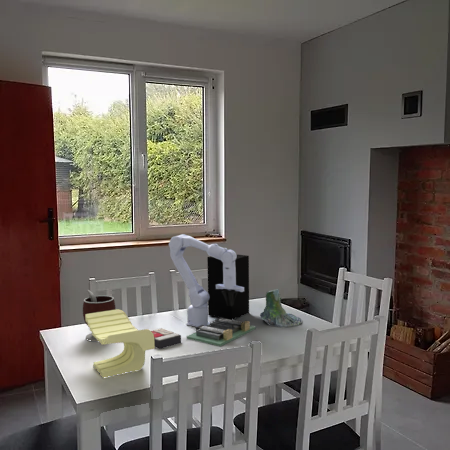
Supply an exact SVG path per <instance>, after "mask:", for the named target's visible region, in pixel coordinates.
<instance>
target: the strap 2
mask: <svg viewBox="0 0 450 450" xmlns="http://www.w3.org/2000/svg"><path fill="white" fill-rule="evenodd" d="M218 321H222V322H227V323H232V324H238V325H241V323H242V322H243V321H242V320H241V321H240V320H236V319H233V320H230V319H224V318H222V319H219V320H218Z"/></svg>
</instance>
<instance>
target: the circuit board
mask: <svg viewBox="0 0 450 450" xmlns="http://www.w3.org/2000/svg"><path fill="white" fill-rule="evenodd" d="M255 329H256V325H255V326H254V325H250V329H249V330H247V331H245V332H244V331H241V330H240V331H237V332H235V333H233V334H232V338H231V339H229V340H223V339H221V340H219V341H218V340H214V339H209V338H205V337H200V336H196V331H195V332H193V333H191V334H189V335H186V339H187V340H192V341H195V342H200V343H205V344H208V345H212V346H213V345H214V346H218V347H222V346H224V345H226V344H228V343H230V342H233V341H234V340H236V339H238V338H241V337H242V336H244V335H246V334H248V333H250V332H251V331H255Z"/></svg>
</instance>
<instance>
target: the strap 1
mask: <svg viewBox="0 0 450 450" xmlns="http://www.w3.org/2000/svg"><path fill="white" fill-rule="evenodd" d="M200 329H202V330H207V331H212V332H217V333H222V334H223V331H225V330H222V329H217V328H212V327H207V326H203V327H200ZM200 329H199V330H200Z"/></svg>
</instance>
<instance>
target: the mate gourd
mask: <svg viewBox="0 0 450 450" xmlns="http://www.w3.org/2000/svg"><path fill="white" fill-rule="evenodd" d="M86 292H88V294H89V297H86V298H84V299H83V303H82V304H83V305H82V316H83V320H84V324H86V326H87V327H88V328H90V327H89V326H88V322H86V318H85V314H90V313H96V312H103V311H110V310H117V308H116V302H115V297H114V296H110V295H95V294H94V292H92V291H91V290H89V289H87V291H86ZM86 339H88V340H91V341H98V340H97V339H96V338H95V337H94V336H93V335H92V332H91V333H89V334H87V335H86V336H85V340H86ZM88 340H87V341H88ZM91 341H90V342H91Z"/></svg>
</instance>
